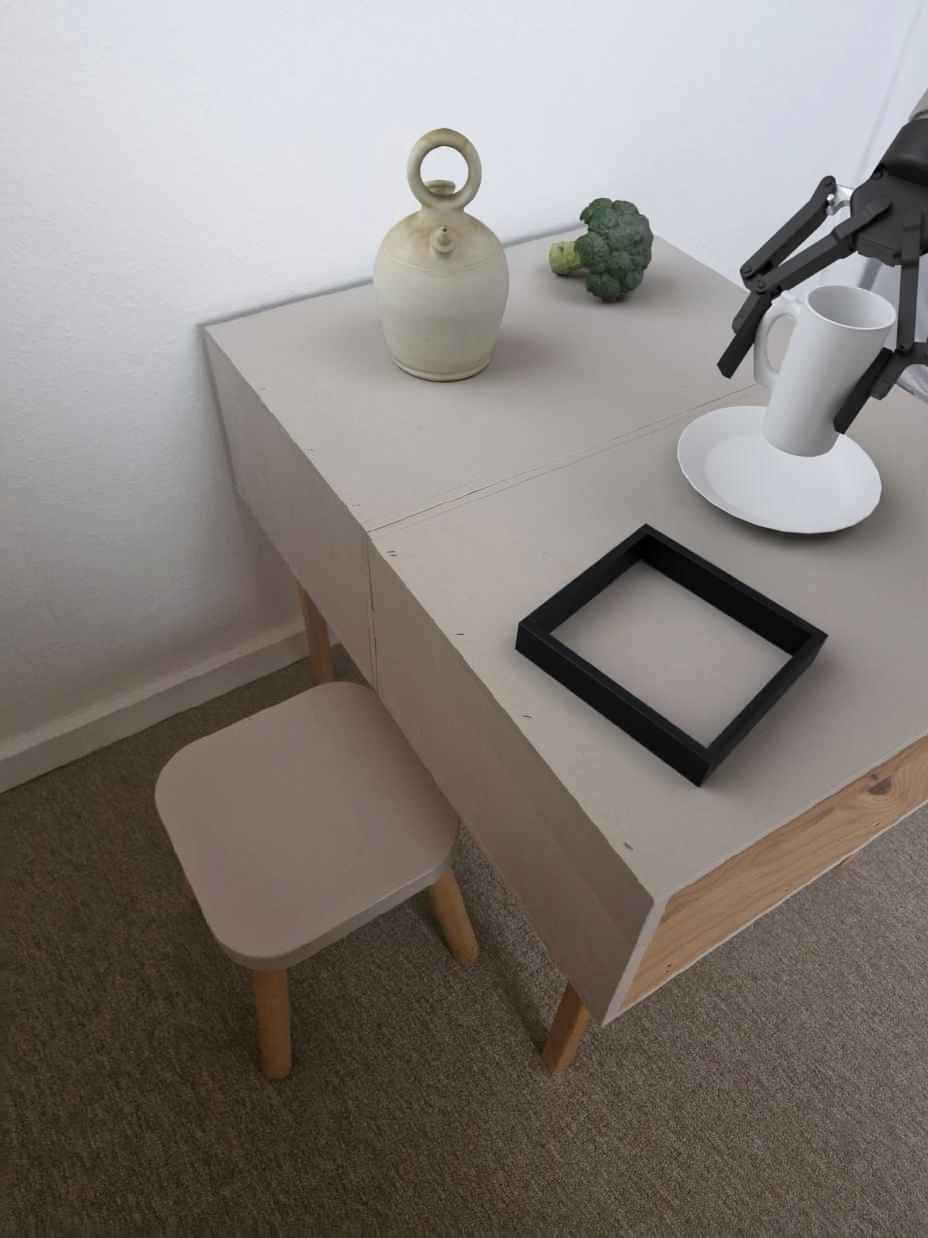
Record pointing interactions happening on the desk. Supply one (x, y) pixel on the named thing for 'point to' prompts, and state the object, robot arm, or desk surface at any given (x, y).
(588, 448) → the desk surface
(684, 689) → the desk surface
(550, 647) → the black square frame
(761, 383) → the mug
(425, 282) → the jug
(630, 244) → the vegetable
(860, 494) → the plate
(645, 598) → the desk surface
